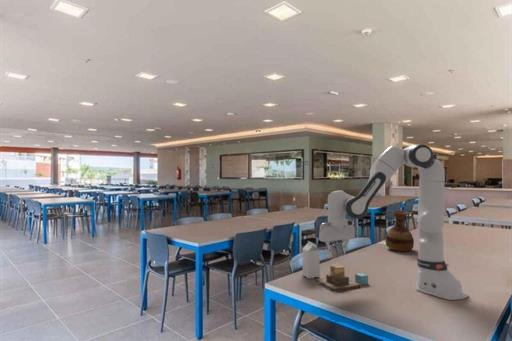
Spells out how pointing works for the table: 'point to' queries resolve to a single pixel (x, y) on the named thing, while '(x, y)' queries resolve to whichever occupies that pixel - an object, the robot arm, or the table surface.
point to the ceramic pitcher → (399, 234)
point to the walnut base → (339, 287)
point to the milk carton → (311, 261)
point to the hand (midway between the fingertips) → (337, 249)
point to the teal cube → (361, 278)
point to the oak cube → (337, 270)
